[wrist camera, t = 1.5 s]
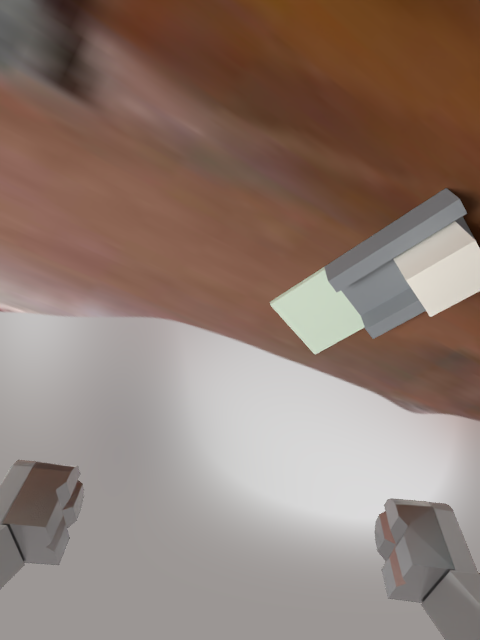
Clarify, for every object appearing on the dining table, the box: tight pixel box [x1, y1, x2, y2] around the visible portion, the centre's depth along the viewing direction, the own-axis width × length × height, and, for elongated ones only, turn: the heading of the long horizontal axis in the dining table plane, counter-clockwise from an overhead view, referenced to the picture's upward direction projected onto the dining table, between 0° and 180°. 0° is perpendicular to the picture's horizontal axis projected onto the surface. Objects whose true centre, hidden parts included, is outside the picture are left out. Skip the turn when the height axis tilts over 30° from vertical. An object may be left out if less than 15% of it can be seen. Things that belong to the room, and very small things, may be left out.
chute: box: [270, 188, 474, 354], centre depth 41 cm, size 20×9×3 cm, turn 129°
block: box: [393, 221, 480, 317], centre depth 37 cm, size 6×5×6 cm
